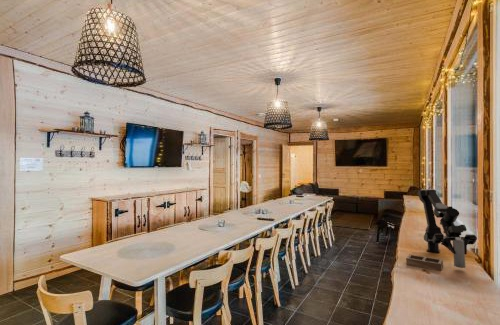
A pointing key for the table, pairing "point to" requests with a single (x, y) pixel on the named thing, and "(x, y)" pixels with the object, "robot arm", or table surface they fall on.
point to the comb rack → (425, 262)
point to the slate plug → (459, 252)
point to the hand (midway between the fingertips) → (460, 254)
